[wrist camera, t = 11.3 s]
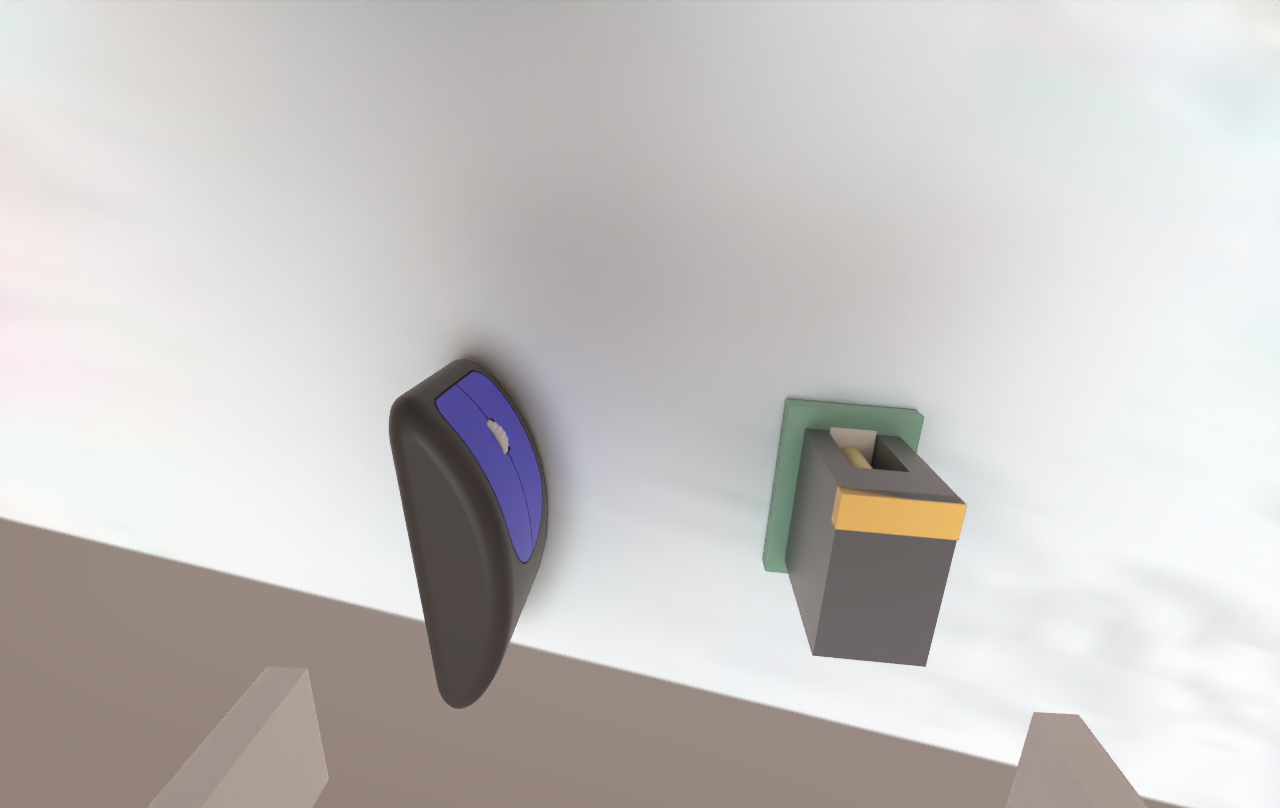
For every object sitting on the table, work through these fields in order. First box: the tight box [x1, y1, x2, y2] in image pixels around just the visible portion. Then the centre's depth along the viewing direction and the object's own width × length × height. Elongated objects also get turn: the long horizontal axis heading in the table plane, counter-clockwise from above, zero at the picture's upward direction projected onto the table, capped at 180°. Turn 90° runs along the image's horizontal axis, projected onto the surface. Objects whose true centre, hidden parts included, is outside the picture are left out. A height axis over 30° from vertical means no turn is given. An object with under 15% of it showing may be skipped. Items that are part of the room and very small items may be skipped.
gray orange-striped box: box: [784, 429, 967, 667], centre depth 31 cm, size 8×5×8 cm, turn 176°
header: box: [763, 399, 924, 573], centre depth 33 cm, size 10×7×6 cm
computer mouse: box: [389, 359, 547, 709], centre depth 32 cm, size 16×5×9 cm, turn 4°
